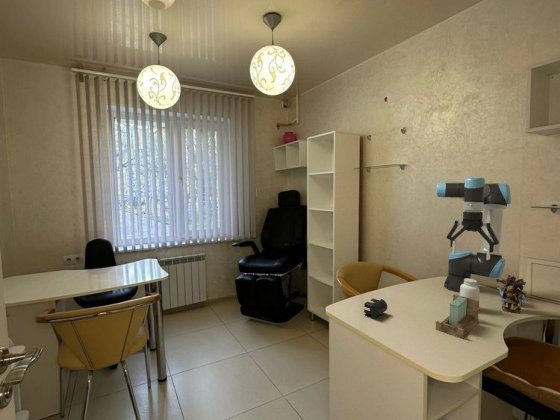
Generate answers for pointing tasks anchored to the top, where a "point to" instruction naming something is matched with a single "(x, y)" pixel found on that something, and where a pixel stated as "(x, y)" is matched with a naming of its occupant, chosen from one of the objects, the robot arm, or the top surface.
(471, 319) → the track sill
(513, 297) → the figurine
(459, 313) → the door panel
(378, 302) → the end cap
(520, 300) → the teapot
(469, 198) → the robot arm
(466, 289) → the pill bottle
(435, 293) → the top surface
